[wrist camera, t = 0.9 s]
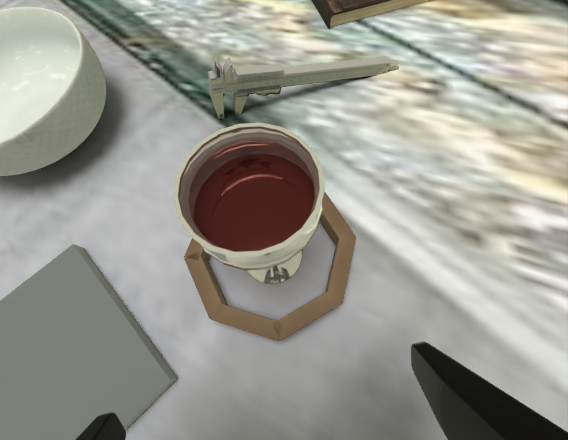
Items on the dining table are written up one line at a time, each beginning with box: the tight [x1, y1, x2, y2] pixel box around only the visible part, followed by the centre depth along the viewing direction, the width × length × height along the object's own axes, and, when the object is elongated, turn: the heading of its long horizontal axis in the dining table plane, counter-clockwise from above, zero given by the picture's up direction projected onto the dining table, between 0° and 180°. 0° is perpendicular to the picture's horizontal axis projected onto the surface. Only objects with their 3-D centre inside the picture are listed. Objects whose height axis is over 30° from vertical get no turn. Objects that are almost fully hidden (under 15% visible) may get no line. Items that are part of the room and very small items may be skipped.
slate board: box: [0, 244, 177, 440], centre depth 20 cm, size 14×14×1 cm
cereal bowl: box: [0, 7, 107, 176], centre depth 26 cm, size 17×17×7 cm
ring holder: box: [184, 191, 356, 341], centre depth 22 cm, size 12×12×2 cm
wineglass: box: [173, 123, 325, 284], centre depth 18 cm, size 7×7×12 cm
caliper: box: [209, 57, 399, 119], centre depth 27 cm, size 20×1×6 cm, turn 108°
